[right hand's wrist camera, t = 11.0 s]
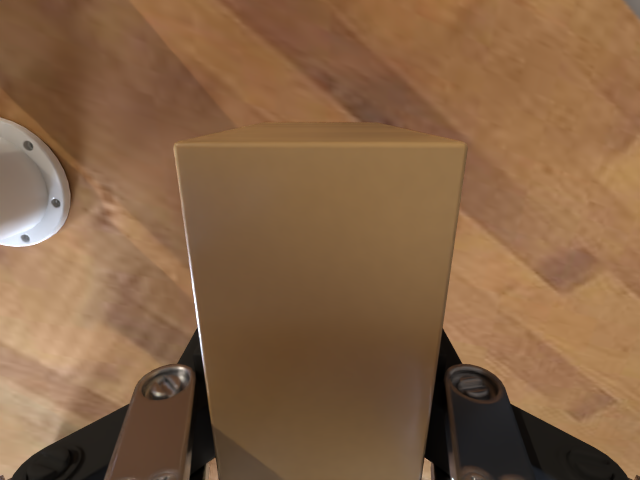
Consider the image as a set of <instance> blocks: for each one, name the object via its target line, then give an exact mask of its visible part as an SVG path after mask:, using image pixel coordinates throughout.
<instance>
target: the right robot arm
mask: <svg viewBox="0 0 640 480" xmlns="http://www.w3.org/2000/svg"><path fill="white" fill-rule="evenodd" d="M70 198H71V194H70V189H69V183H68V180H67V177H66V174H65V172H64V169H63V168H62V166H61V164H60V162H59V161H58V159H57V157H56V156H55V155H54V153H53V152H52V151H51V150H50V148H49V147H48V146H47V145H46V144H45V143H44V142H43V141H42V140H41V139H40V138H39V137H38V136H36V135H35V134H33V133H32V132H30V131H29V130H28V129H26V128H25V127H23V126H21V125H19V124H17V123H15V122H13V121H10V120H7V119H3V118H0V244H2V245H8V246H28V245H32V244H36V243H39V242H41V241H43V240H46V239H48V238H49V237H51V236H52V235H54V234H55V233H57V232H58V230H59V229H60V228H61V227H62V226H63V224H64V223H65V221H66V219H67V217H68V213H69V209H70ZM215 457H216V455H215V448H214V441H213V433H212V426H211V419H210V411H209V404H208V397H207V389H206V382H205V375H204V367H203V360H202V353H201V345H200V338H199V331H198V327H197V329H196V331H195V333H194V335H193V336H192V338H191V340H190V342H189V344H188V345H187V347H186V349H185V351H184V353H183V355H182V356H181V358H180V360H179V362H178V364H170V365H165V366H161V367H159V368H157V369H154V370H152V371H151V372H149V373H148V374H146V375H145V376H144V377H143V378H142V379H141V380H140V381H139V382H138V384H137V385H136V387H135V390H134V392H133V395H132V398H131V401H130V404H128V405H126V406H124V407H122V408H120V409H118V410H116V411H114V412H113V413H111V414H109V415H107V416H105V417H103V418H101V419H99V420H97V421H95V422H93V423H91V424H90V425H88V426H86V427H84V428H82V429H80V430H78V431H76V432H74V433H72V434H70V435H68V436H67V437H65V438H63V439H61V440H59V441H57V442H55V443H53V444H51V445H49V446H47V447H46V448H44V449H42V450H41V451H39V452H37V453H36V454H34V455H33V456H31V457H30V458H29V459H28V460H27V461H25V462H24V463H23V464H22V465H21V466H20V467H19V469H18V470H17V471H16V472H15V473H14V475H13V477H12V478H10V479H8V480H209V461H211V460H212V459H213V458H215ZM424 458H426V459H428V460H429V461H430V462H431V480H632V479H630V478H628V477H627V475H626V474H625V473H624V471H623V470H622V469H621V468H620V467H619V465H618V464H617V463H615V462H614V461H613V460H612V459H611V458H610V457H608V456H607V455H606V454H604V453H602V452H601V451H599V450H598V449H596V448H594V447H592V446H590V445H589V444H587V443H585V442H583V441H581V440H579V439H577V438H575V437H573V436H571V435H569V434H567V433H566V432H564V431H562V430H560V429H558V428H556V427H554V426H552V425H550V424H548V423H546V422H544V421H543V420H541V419H539V418H537V417H535V416H533V415H531V414H529V413H527V412H525V411H523V410H521V409H520V408H518V407H516V406H514V405H512V404H510V401H509V398H508V395H507V392H506V390H505V387H504V385H503V384H502V382H501V381H500V380H499V379H498V378H497V377H496V376H495V375H494V374H492V373H491V372H489V371H488V370H486V369H483V368H481V367H479V366H475V365H470V364H462V362H461V360H460V359H459V357H458V355H457V353H456V351H455V350H454V348H453V346H452V344H451V342H450V341H449V339H448V337H447V335H446V333H445V332H444V330H443V328H442V335H441V342H440V349H439V356H438V364H437V371H436V378H435V385H434V392H433V399H432V406H431V414H430V421H429V428H428V435H427V442H426V449H425V456H424ZM0 480H5V478H4V476H3V475H2V476H0ZM634 480H640V476H638V475H636V477H635V479H634Z"/></svg>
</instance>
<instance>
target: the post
mask: <svg viewBox="0 0 640 480" xmlns="http://www.w3.org/2000/svg"><path fill="white" fill-rule="evenodd" d="M467 150H468V148H467V144H466V143H464V142H462V141H457V140H453V139H448V138H444V137H439V136H435V135H430V134H426V133H422V132H417V131H413V130H408V129H404V128H399V127H395V126H390V125H386V124H382V123H371V122H263V123H259V124H254V125H250V126H245V127H241V128H236V129H232V130H227V131H223V132H218V133H214V134H209V135H205V136H200V137H196V138H191V139H187V140H182V141H178V142H176V143H175V144H174V155H175V162H176V170H177V177H178V184H179V192H180V199H181V206H182V214H183V221H184V228H185V236H186V243H187V250H188V258H189V265H190V272H191V280H192V287H193V294H194V302H195V309H196V316H197V323H198V331H199V338H200V345H201V353H202V360H203V367H204V375H205V382H206V389H207V397H208V404H209V411H210V419H211V426H212V433H213V441H214V448H215V455H216V463H217V470H218V477H219V480H421V478H422V471H423V464H424V456H425V449H426V442H427V435H428V428H429V421H430V414H431V406H432V399H433V392H434V385H435V378H436V371H437V364H438V356H439V349H440V342H441V335H442V328H443V321H444V314H445V307H446V299H447V292H448V285H449V278H450V271H451V264H452V257H453V249H454V242H455V235H456V228H457V221H458V214H459V207H460V199H461V192H462V185H463V178H464V171H465V164H466V157H467Z"/></svg>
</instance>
